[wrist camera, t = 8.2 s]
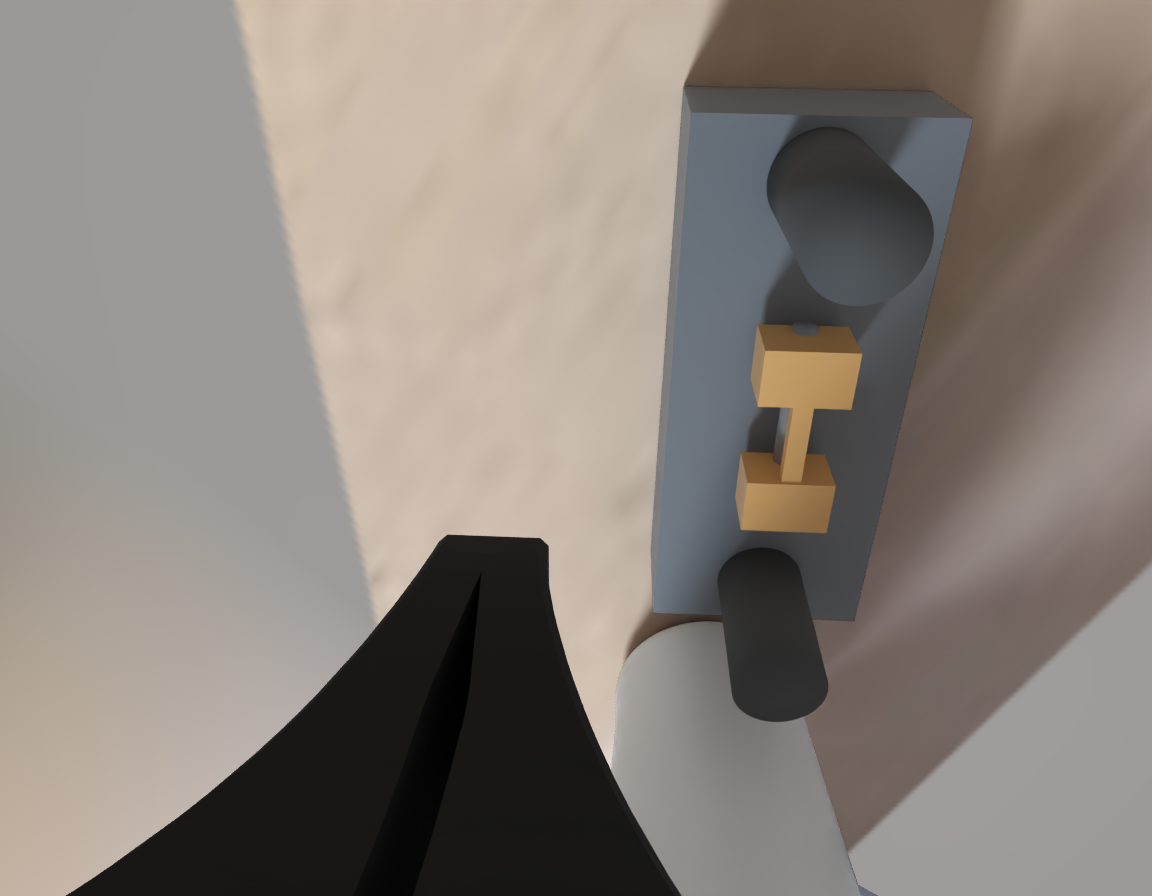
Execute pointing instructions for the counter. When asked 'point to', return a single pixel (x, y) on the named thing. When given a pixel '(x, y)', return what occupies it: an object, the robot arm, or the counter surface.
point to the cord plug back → (770, 637)
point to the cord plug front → (848, 217)
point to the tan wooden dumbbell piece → (795, 424)
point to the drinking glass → (721, 777)
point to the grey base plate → (780, 297)
